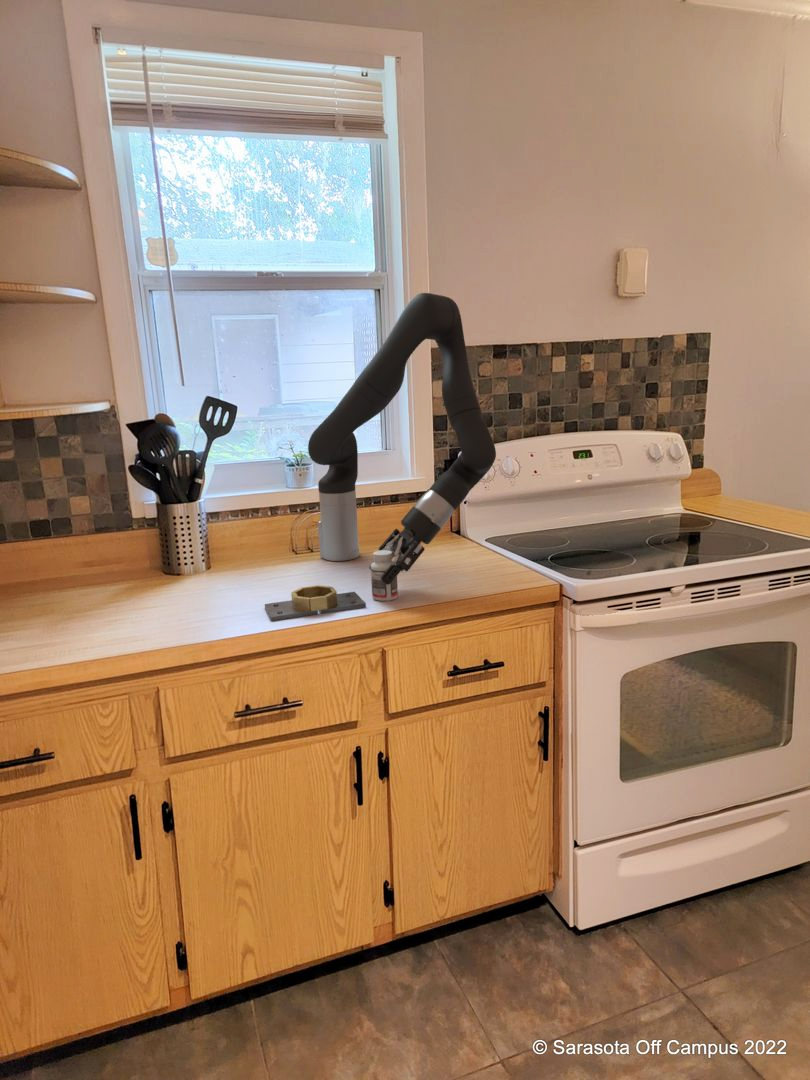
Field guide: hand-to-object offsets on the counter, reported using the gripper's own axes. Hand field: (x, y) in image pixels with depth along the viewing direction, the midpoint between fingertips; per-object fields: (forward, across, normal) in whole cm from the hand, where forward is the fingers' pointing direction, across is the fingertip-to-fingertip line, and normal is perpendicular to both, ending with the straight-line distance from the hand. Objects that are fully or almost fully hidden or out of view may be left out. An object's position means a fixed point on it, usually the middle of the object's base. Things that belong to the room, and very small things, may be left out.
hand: (378, 576), depth 150 cm
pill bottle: (+3, 0, +4) cm, 5 cm away
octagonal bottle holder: (+13, 0, -6) cm, 14 cm away
